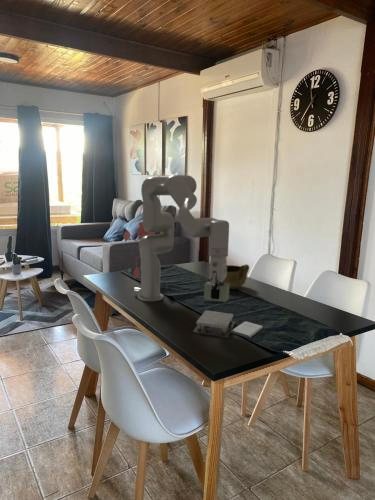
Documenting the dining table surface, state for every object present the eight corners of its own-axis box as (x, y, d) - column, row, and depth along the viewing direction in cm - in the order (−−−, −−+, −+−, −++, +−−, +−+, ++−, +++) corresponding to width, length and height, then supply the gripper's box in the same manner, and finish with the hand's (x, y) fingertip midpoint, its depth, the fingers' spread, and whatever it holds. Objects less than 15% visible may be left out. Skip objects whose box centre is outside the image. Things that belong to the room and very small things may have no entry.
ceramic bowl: (256, 290, 202) (258, 263, 199) (233, 295, 191) (235, 267, 189) (228, 280, 219) (229, 255, 216) (206, 285, 209) (207, 259, 206)
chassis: (192, 332, 145) (193, 322, 144) (203, 317, 160) (204, 309, 159) (227, 337, 141) (228, 327, 140) (235, 322, 156) (236, 313, 155)
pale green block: (203, 299, 147) (204, 283, 146) (207, 295, 152) (207, 280, 150) (226, 301, 144) (226, 285, 143) (228, 298, 149) (229, 282, 148)
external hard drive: (230, 334, 146) (244, 324, 156) (249, 339, 141) (262, 329, 151) (230, 330, 145) (245, 320, 155) (249, 335, 141) (263, 325, 151)
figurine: (120, 278, 218) (121, 219, 210) (159, 273, 231) (161, 217, 224) (131, 285, 205) (131, 222, 198) (171, 279, 219) (173, 221, 211)
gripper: (223, 256, 135) (221, 304, 139) (232, 248, 151) (230, 291, 155) (203, 255, 137) (201, 301, 141) (214, 247, 153) (212, 289, 157)
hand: (216, 296), depth 148 cm, fingers closed on pale green block, 5 cm apart
